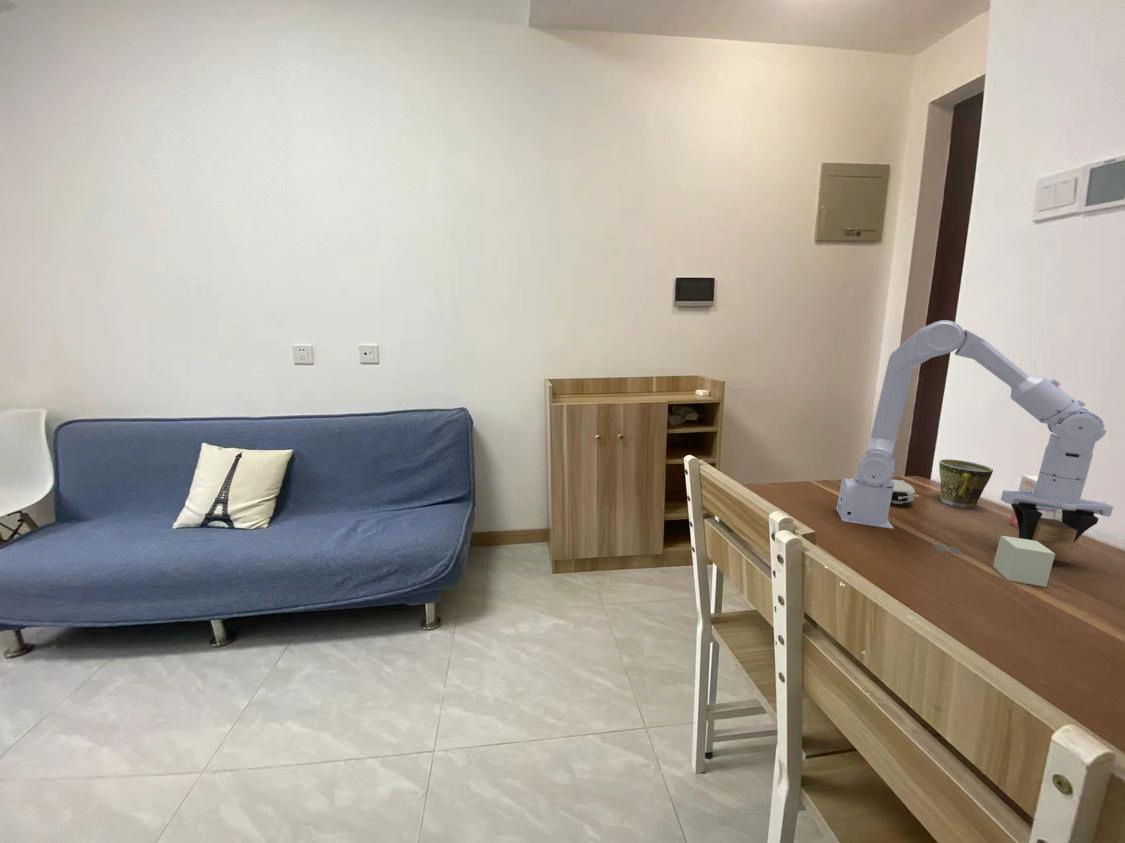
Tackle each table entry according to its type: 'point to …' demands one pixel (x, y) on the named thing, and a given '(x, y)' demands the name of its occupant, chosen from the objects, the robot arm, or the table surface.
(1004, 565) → the sage block
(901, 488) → the robot toy
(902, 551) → the table surface
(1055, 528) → the walnut block
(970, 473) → the ceramic cup
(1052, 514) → the ink cartridge box
